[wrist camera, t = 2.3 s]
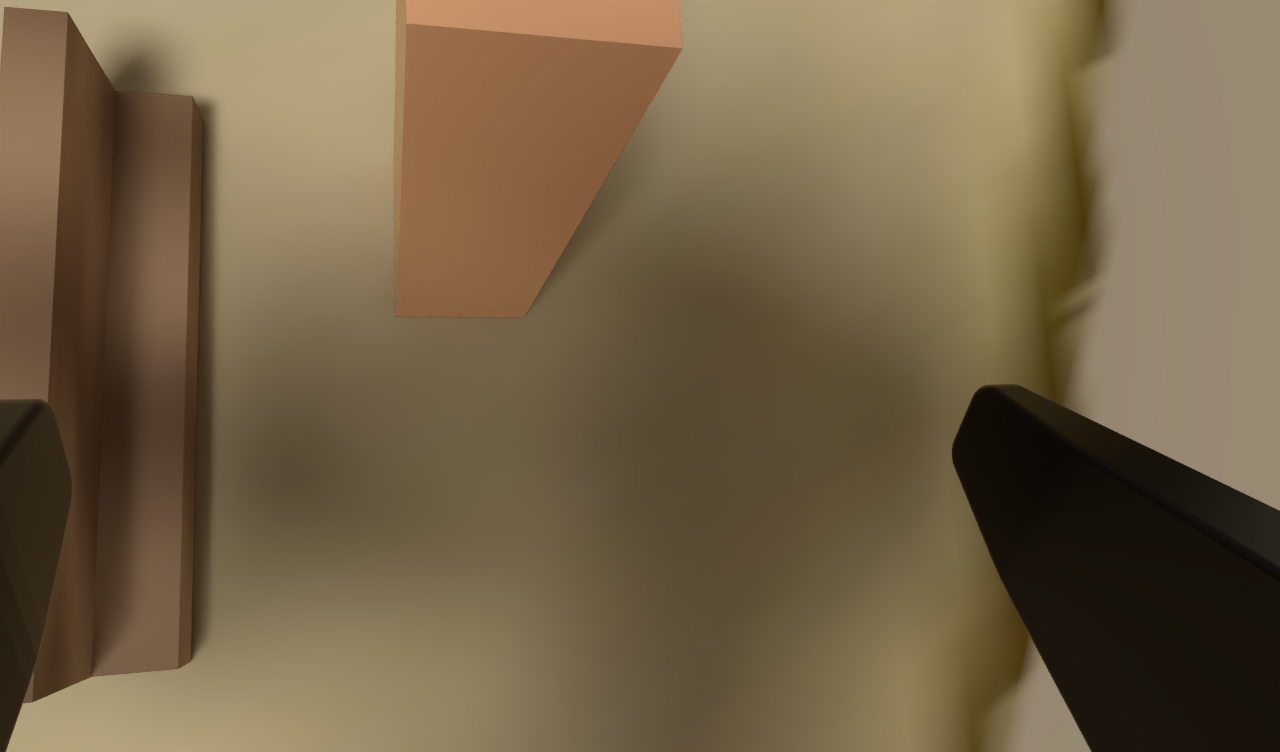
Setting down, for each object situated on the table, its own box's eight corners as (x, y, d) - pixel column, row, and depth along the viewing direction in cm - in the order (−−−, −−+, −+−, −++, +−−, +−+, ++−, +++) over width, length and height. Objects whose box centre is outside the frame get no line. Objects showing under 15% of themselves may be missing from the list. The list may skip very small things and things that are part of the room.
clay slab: (524, 317, 22) (681, 48, 10) (396, 316, 21) (406, 23, 9) (518, 161, 23) (660, -260, 11) (394, 156, 22) (400, -309, 10)
